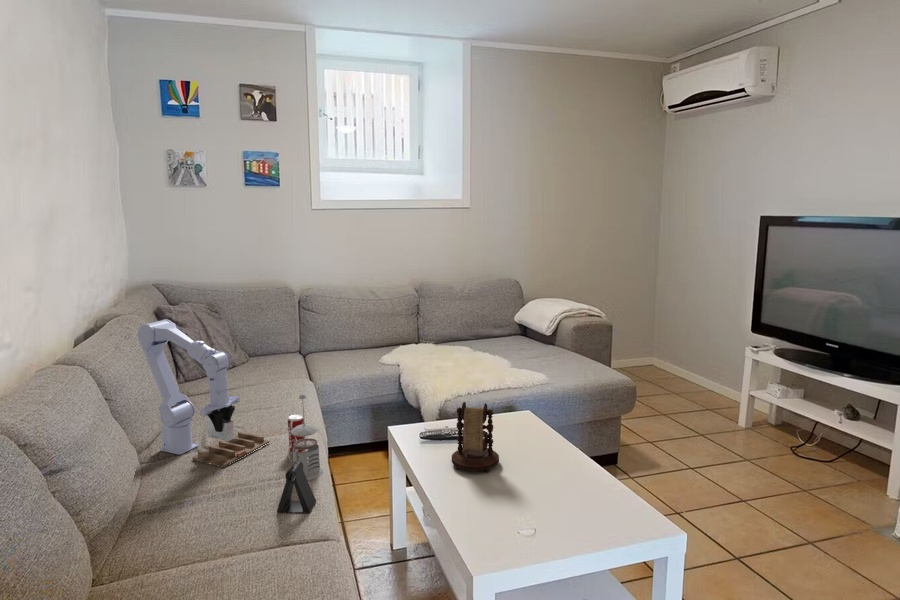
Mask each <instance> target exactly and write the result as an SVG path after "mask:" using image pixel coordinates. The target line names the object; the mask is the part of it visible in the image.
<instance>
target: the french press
mask: <svg viewBox="0 0 900 600" xmlns="http://www.w3.org/2000/svg"><path fill="white" fill-rule="evenodd" d="M306 398H307V396H306V394H305V393H301V394H300V395H299V399H300V400H301V401H302V404H304V399H306ZM302 413H303V414H302V416H303V419H304V420H305V411H304V406H302ZM318 431H319V427H318V426H316V425H313V424H311V423H310V424H309V423H304V424H302V425H299V426H297V427H295V428H294V429H292V430H291V434H292V435H294V436H298V437H303V436H305V439H301V440H297V441H296V442H295V440H294V439H293V440H294V443H293V446H294V447H293V454H292V459H291V455H290V446H289V445H288V446H289V447H288V454H287V455H288V459H289V461H290V462H291V463H292V464H293V463H294V462H295V461H296V463H295V465H294V468H295V467H296V465H297V464H298V462H299V461H300V462H302V463H303V471H304V474H305V476H306V478H307V481H311V480H315V479H317V478H320V477H322V475H323V474H324V469H323V468H322V467H321V464H320V448H319V447H320V446H319V445H318V440H317V439H315V438H309V437H308V436H312V435H314V434H316V433H317V432H318ZM307 437H308V438H307ZM293 440H292V441H293ZM292 441H291V443H292ZM291 443H290V445H291ZM294 450H305V452H294ZM306 450H307V451H306Z"/></svg>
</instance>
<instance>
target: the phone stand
mask: <svg viewBox="0 0 900 600" xmlns="http://www.w3.org/2000/svg"><path fill="white" fill-rule="evenodd" d="M295 463H296V461H295V462H294V463H292V465H291V466H290V467H289V468H288V470H287V471H286V472H285V484H284V487H283V490H282V493H281V496H280V497H281V498H280V500H279V503H278V506H277V510H276V513H277V514H300V515H301V514H304V515H305V514H306V515H307V514H310V513H312V512H311V511H312V510H313V508H314V506H315V504H316V503H317V499H316V497H315V494H314V492H313V491H312V487H311V485H310V483H309V480H307V478H306V476H305V474H304V471H303V463H302V462H300V461H299V462H298V461H297V463H298V464H297V465H296V467H295V468H294V465H295ZM294 488H295V492H296V495H297V497H298V500H292V495H293V491H294Z"/></svg>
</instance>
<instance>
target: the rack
mask: <svg viewBox="0 0 900 600" xmlns="http://www.w3.org/2000/svg"><path fill="white" fill-rule="evenodd" d="M269 442H270V440H265V437H264V436H263V435H258V434H252V433H249V432H247V433H246V432H242V431H238V432H237V435H236V436H234V439H232V440H230V441H226V440H219V441H218V444H217V445H215V446H213V445H209V446H207V448H208V449H207V450H205V451H203V450H198V451H197V455H194V456H193V457H192V461H194V460H196V461H195V462H198V461H201V462H200V463H202V462H206V463H211V464H215V465H219V466H223V467H225V468H227V467H228V466H227V465H229V464H230V463H232V462H234V461H236V460H238V459H240V458H242V457H244V456H245V455H247V454H249V453H251V452H253V451H254V450H256V449H258V448H260V447H261V446H263V445H265V444H267V443H269ZM270 443H271V442H270ZM244 458H245V457H244ZM242 459H243V458H242ZM240 460H241V459H240ZM206 463H205V464H206ZM211 464H210V465H211ZM215 465H214V466H215ZM219 466H218V467H219ZM226 466H227V467H226ZM229 466H230V465H229ZM223 467H222V468H223Z"/></svg>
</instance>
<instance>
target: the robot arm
mask: <svg viewBox="0 0 900 600" xmlns="http://www.w3.org/2000/svg"><path fill="white" fill-rule="evenodd" d="M176 325H177V324H176V323H175V322H173V321H171V320H169V319H167V318H164V319H161V320H158V321H153V322H150V323H143V324H141V325H140V326H139V328H138V331H137V334H136V336H137V337H138V338H137V339H138V340H139V344H140V345H141V346H140V347H141V349H142V351H143V354H144V357H145V359H146V361H147V364H148V366H149V369H150V372H151V374H152V376H153V379H154V381H155V383H156V386H157V388H158V391H159V393H160V395H161V397H162V401H161V403H160V404H159V406H158V410H159V414H160V415H159V417H160V421H161V423H162V424H163V425H162V427H161V430H160V437H161V446H162V448H160V451H161V452H166V453H171V454H175V455H182V454H185V453H186V452H189V451H191V450H193V449H196V448H197V447H199V444H198V443H193V434H192V423H191V422H192V421H193V417H194V416H195V413H196V408H195V405H194V404H193V402H191V401H190V399H189V396H188V395H185V394H183V393H181V392H180V390H179V389H180V388H178V385H177V383H176V380H175V377H174V375H173V373H172V370H171V368H170V365H169V363H168V360H167V358H166V356H165V354H164V348H165V346H166V345H167V343H168V342H172V343H174V344H175V345H177V346H178V347H181V348H182V349H183V350H186V351H187V352H186V353H187V355H188V357H190V358H192V359H193V360H195V361H196V362H198V363H200V364H202V367H203V370H204V371H205V373H206V377H207V378H208V387H209V388H208V389H209V391H208V392H209V401H210V403H209V404H207V405H206V406H204V407H203V408H200V409H199V415H200V416H202V417H206V416H207V417H208V419H209V418H210V420H211V421H212V423H213V425H214V428H215V431H216V432H222V419H227V420H231V419H232V416H233V413H234V412H235V410H236V406H234V405H233V404H238V403H240V402H241V401H240V396H238V395H233V396H230V393H229V392H230V391H229V390H230V389H229V380H228V378H229V377H228V368H229V366H230V365H231V359H230V356H229V354H228V353H227V352H226V351H224V350H216V349H215V348H212V347H210V346H209V345H207V344H205V341H203V340H193V339H192V338H191V337H189V336H188V335H186V334H185V333H184V332H183V331H181V330H180V329H178V327H177V326H176Z"/></svg>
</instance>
